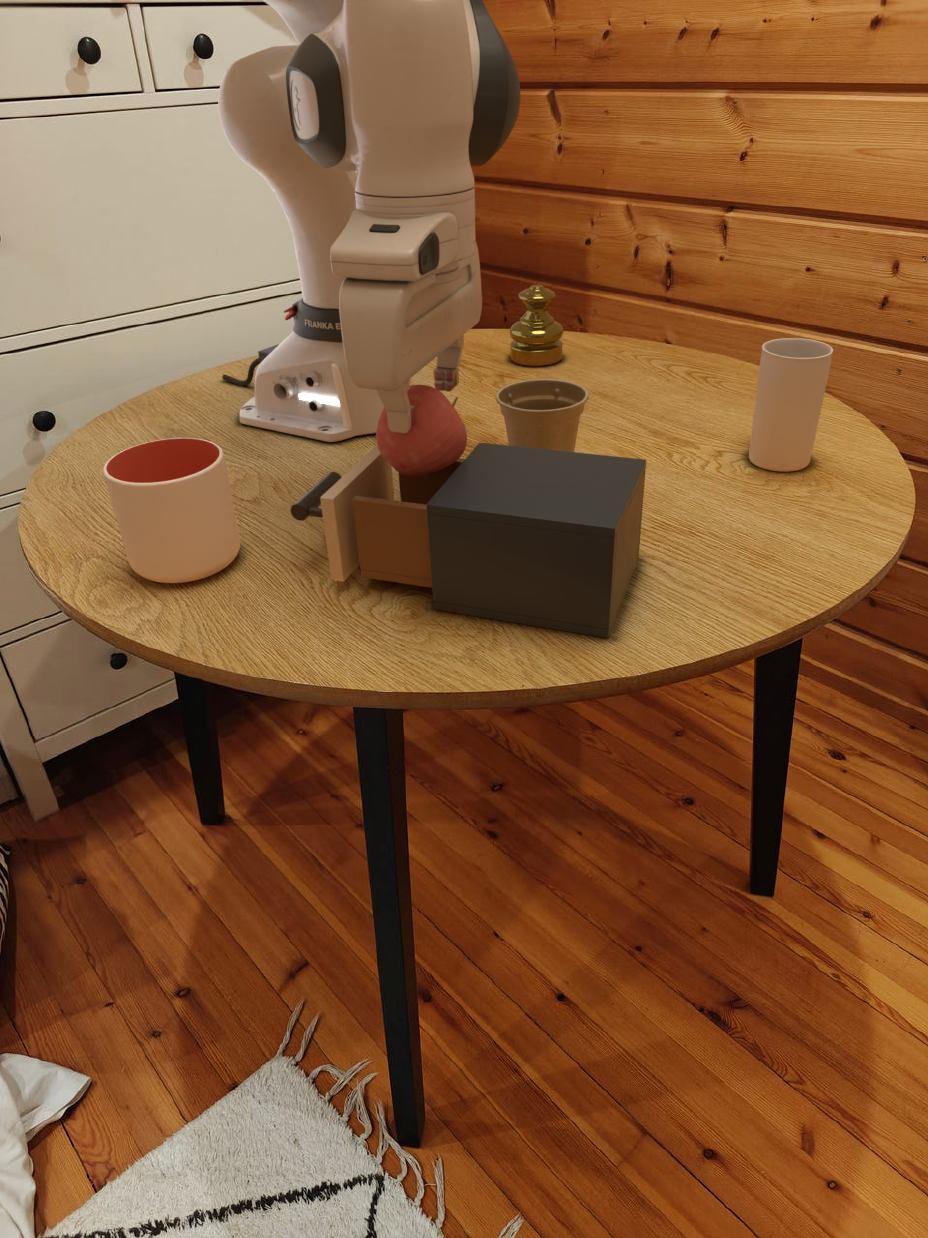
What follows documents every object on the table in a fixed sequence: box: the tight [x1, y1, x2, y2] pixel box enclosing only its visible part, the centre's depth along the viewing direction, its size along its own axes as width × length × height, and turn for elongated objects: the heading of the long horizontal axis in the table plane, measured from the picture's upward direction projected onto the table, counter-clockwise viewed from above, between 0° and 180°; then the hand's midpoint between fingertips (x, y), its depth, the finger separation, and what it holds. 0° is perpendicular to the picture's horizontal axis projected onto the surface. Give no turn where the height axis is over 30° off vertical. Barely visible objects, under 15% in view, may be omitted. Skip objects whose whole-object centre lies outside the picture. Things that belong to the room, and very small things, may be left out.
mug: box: [748, 337, 834, 473], centre depth 94 cm, size 10×7×12 cm, turn 3°
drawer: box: [290, 444, 466, 589], centre depth 78 cm, size 18×11×8 cm, turn 70°
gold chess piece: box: [509, 284, 564, 367], centre depth 125 cm, size 7×7×10 cm
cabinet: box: [426, 442, 647, 639], centre depth 74 cm, size 15×13×10 cm
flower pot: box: [495, 378, 590, 452], centre depth 93 cm, size 9×9×9 cm
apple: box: [375, 384, 468, 477], centre depth 75 cm, size 7×7×8 cm
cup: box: [102, 437, 241, 584], centre depth 80 cm, size 10×10×10 cm
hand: (425, 407), depth 75 cm, fingers open, 8 cm apart
